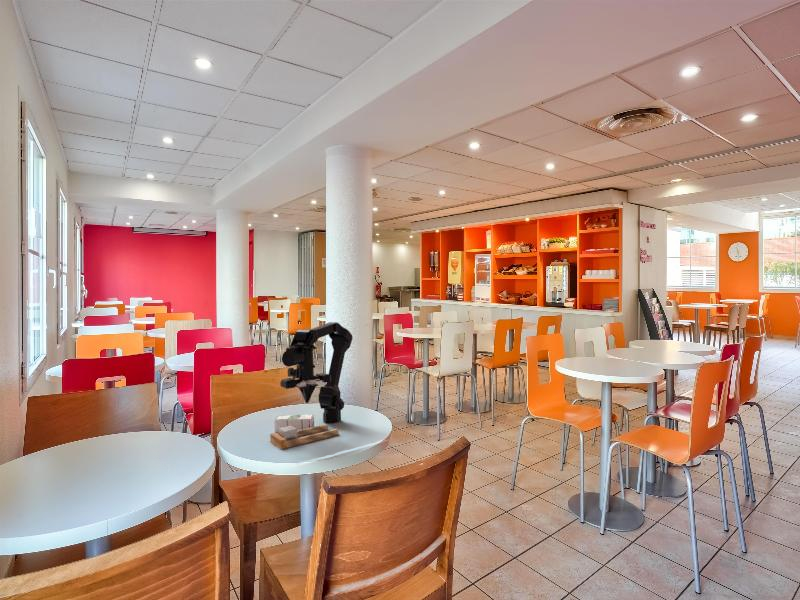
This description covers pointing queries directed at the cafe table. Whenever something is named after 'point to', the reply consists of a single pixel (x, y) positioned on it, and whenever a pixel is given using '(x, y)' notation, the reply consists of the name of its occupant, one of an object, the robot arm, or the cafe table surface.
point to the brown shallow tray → (284, 444)
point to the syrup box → (294, 421)
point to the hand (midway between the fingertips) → (306, 402)
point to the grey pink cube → (288, 432)
